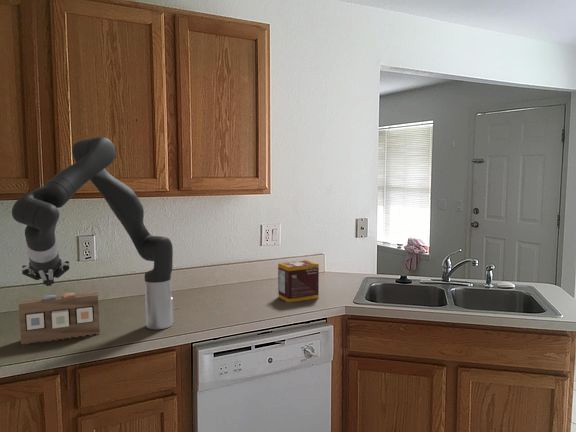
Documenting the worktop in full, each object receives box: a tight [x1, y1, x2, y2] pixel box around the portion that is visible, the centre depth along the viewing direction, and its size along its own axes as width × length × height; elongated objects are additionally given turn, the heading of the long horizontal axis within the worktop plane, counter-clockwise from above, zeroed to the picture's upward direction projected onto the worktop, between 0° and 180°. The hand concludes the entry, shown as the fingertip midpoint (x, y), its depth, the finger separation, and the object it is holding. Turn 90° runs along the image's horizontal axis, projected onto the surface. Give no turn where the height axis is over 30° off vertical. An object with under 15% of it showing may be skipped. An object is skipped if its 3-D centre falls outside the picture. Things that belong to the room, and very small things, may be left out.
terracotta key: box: [76, 306, 93, 323], centre depth 161 cm, size 5×5×5 cm
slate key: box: [26, 312, 45, 330], centre depth 155 cm, size 5×5×5 cm
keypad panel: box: [18, 291, 101, 345], centre depth 159 cm, size 6×24×15 cm, turn 115°
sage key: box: [52, 309, 69, 328], centre depth 156 cm, size 5×5×5 cm
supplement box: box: [277, 259, 320, 303], centre depth 206 cm, size 10×15×16 cm
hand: (48, 283), depth 142 cm, fingers closed
